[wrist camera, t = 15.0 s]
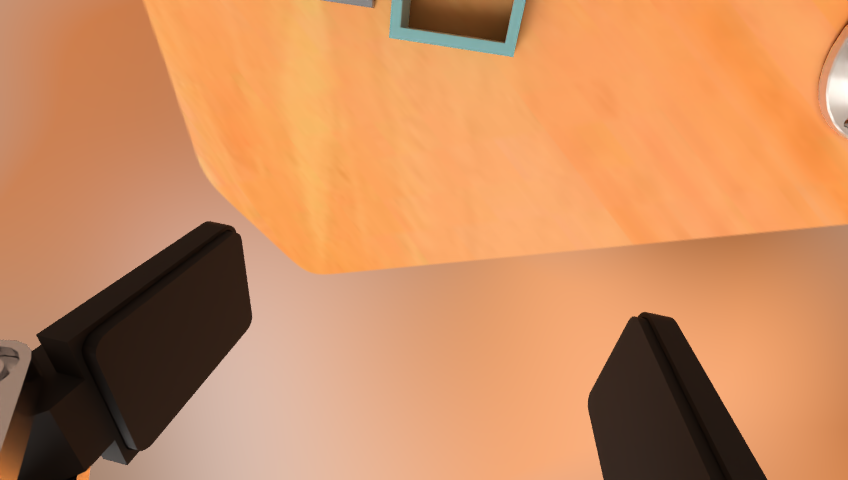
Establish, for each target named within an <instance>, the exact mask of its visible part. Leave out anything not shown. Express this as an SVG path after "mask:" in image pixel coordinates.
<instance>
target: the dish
mask: <svg viewBox="0 0 848 480" xmlns="http://www.w3.org/2000/svg"><path fill="white" fill-rule="evenodd" d="M525 2H526V0H514V1H513V5H512V10H511V15H510V20H509V24H508V29H507V34H506V39H505V42H503V41H497V40H490V39H484V38H477V37H470V36H464V35H457V34H451V33H444V32H437V31H431V30H424V29H418V28H411V27H409V17H410V6H411V0H392V4H391V18H390V33H389V38H394V39H400V40H407V41H413V42H420V43H426V44H433V45H439V46H446V47H452V48H459V49H465V50H471V51H478V52H484V53H491V54H497V55H504V56H510V57H513V56H514V51H515V47H516V42H517V38H518V33H519V29H520V24H521V20H522V15H523V11H524V6H525Z"/></svg>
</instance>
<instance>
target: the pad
mask: <svg viewBox="0 0 848 480" xmlns="http://www.w3.org/2000/svg"><path fill="white" fill-rule="evenodd" d="M324 1H330V2H337V3H344V4H351V5H357V6H364V7H371V8H374V3H375V0H324Z"/></svg>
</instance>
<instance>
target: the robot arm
mask: <svg viewBox="0 0 848 480" xmlns="http://www.w3.org/2000/svg"><path fill="white" fill-rule="evenodd" d="M818 100H819V105H820V109H821V113H822V115H823V117H824V119H825V120H826V122H827V124H828V125H829V126H830V127H831V128H832V129H833V130H834V131H835V132H836V133H837V134H838V135H840V136H842V137H844V138H846V139H847V140H848V24H847V26H846V27H845V28H844V29H843V31H842V32H841V34H840V35H839V37H838V38H837V40H836V41H835V43H834V45H833V46H832V48H831V50H830V52H829V54H828V56H827V59H826V61H825V63H824V65H823V68H822V72H821V76H820V80H819V90H818ZM251 320H252V311H251V304H250V297H249V291H248V282H247V275H246V268H245V261H244V254H243V246H242V240H241V236H240V235H239V234H238V233H236V230H235V229H234V228H233V227H232V226H229V225H225V224H220V223H215V222H211V221H210V222H205V223H203V224H201V225H200V226H198V227H197V228H196V229H194V230H192V231H191V232H189V233H188V234H186V235H185V236H183V237H182V238H181V239H179V240H177V241H176V242H175V243H173V244H171V245H170V246H168V247H167V248H165V249H164V250H162V251H161V252H159V253H158V254H157V255H155V256H153V257H152V258H151V259H149V260H147V261H146V262H144V263H143V264H141V265H140V266H138V267H137V268H135V269H134V270H132V271H131V272H129V273H128V274H126V275H125V276H123V277H122V278H120V279H119V280H117V281H116V282H114V283H113V284H111V285H110V286H109V287H107V288H106V289H104V290H102V291H101V292H100V293H98V294H97V295H95V296H94V297H92V298H91V299H89V300H87V301H86V302H85V303H83V304H81V305H80V306H79V307H77V308H75V309H74V310H73V311H71V312H70V313H68V314H67V315H65V316H64V317H62V318H61V319H59V320H58V321H56V322H55V323H53V324H52V325H50V326H49V327H47V328H46V329H44V330H43V331H41V332H40V333H38V334H37V337H38V339H39V341H40V343H41V345H40V346H39V347H37V348H36V349H35V350H33V351H31V349H30V348H29V347H28V346H27V344H24V343H22V342H19V341H15V340H0V480H89V475H90V468H91V465H92V464H93V463H94V462H95V461H96V460H97V459H98V458H99V457H100V456H102V457H103V459H106V460H110V461H114V462H118V463H121V464H125V465H128V464H129V463H130V461H131V460H132V459H133V458H134V457H135V456H136V454H137V453H138V452H139V451H143V450H145V449H147V448H148V447H150V446H151V444H152V443H153V442H154V441H155V440H156V439H157V438H158V436H159V435H160V434H161V433H162V432H163V430H164V429H165V428H166V427H167V426H168V424H169V423H170V422H171V421H172V419H173V418H174V417H175V416H176V415H177V414H178V412H179V411H180V410H181V409H182V407H183V406H184V405H185V404H186V403H187V402H188V400H189V399H190V398H191V397H192V396H193V394H194V393H195V392H196V391H197V390H198V388H199V387H200V386H201V385H202V383H203V382H204V381H205V380H206V379H207V378H208V376H209V375H210V374H211V373H212V371H213V370H214V369H215V368H216V367H217V366H218V364H219V363H220V362H221V361H222V359H223V358H224V357H225V356H226V355H227V354H228V352H229V351H230V350H231V349H232V348H233V346H234V345H235V344H236V343H237V342H238V340H239V339H240V338H241V336H242V335H243V334H244V333H245V332H246V330H247V329H248V328H249V326H250V324H251ZM588 410H589V415H590V419H591V424H592V428H593V433H594V437H595V442H596V447H597V451H598V456H599V460H600V465H601V469H602V474H603V478H604V480H767V478H766V476H765V475H764V473H763V471H762V470H761V468H760V466H759V464H758V463H757V461H756V459H755V457H754V456H753V454H752V452H751V451H750V449H749V447H748V445H747V444H746V442H745V440H744V438H743V437H742V435H741V433H740V432H739V430H738V428H737V426H736V425H735V423H734V421H733V419H732V418H731V416H730V414H729V413H728V411H727V409H726V407H725V406H724V404H723V402H722V401H721V399H720V397H719V395H718V393H717V392H716V390H715V388H714V387H713V385H712V383H711V381H710V380H709V378H708V376H707V375H706V373H705V371H704V369H703V368H702V366H701V364H700V362H699V361H698V359H697V357H696V355H695V354H694V352H693V350H692V348H691V347H690V345H689V343H688V342H687V340H686V338H685V336H684V335H683V333H682V331H681V330H680V328H679V326H678V324H677V323H676V321H675V320H674V319H673V318H671V317H666V316H661V315H656V314H652V313H647V312H643V313H641V314H640V315H639V316H638V317H632V318H630V320H629V321H628V323H627V325H626V327H625V329H624V330H623V332H622V334H621V336H620V338H619V340H618V342H617V343H616V345H615V347H614V349H613V351H612V353H611V355H610V356H609V358H608V360H607V362H606V364H605V366H604V368H603V370H602V371H601V373H600V375H599V377H598V379H597V381H596V383H595V385H594V387H593V388H592V390H591V392H590V395H589V398H588Z"/></svg>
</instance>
